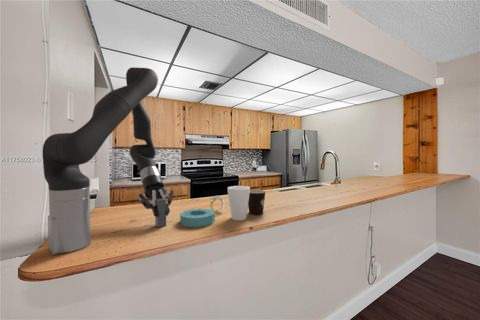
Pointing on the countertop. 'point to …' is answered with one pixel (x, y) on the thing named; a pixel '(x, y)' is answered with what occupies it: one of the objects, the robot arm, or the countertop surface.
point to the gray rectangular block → (161, 213)
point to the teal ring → (197, 217)
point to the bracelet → (215, 200)
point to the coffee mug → (256, 202)
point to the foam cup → (238, 201)
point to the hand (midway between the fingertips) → (162, 215)
